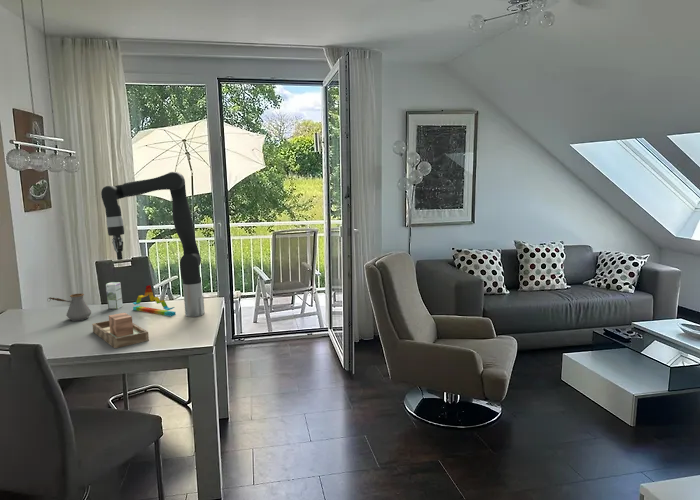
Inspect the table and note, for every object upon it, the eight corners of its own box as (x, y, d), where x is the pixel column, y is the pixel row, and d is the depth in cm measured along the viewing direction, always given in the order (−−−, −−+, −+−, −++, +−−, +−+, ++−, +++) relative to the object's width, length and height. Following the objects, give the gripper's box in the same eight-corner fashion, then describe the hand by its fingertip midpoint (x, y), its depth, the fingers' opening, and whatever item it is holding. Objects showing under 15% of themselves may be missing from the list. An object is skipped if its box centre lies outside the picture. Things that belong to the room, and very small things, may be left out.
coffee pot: (81, 314, 267) (78, 287, 264) (96, 316, 262) (93, 289, 260) (43, 326, 247) (40, 296, 245) (59, 328, 243) (55, 298, 241)
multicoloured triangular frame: (176, 315, 262) (173, 287, 260) (171, 316, 260) (169, 288, 257) (138, 308, 277) (135, 282, 275) (133, 310, 274) (130, 284, 272)
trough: (93, 331, 235) (92, 323, 235) (124, 325, 245) (123, 317, 244) (114, 348, 211) (113, 339, 210) (148, 340, 221) (148, 331, 220)
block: (110, 332, 225) (108, 315, 224) (126, 329, 230) (124, 312, 229) (117, 337, 218) (115, 319, 217) (133, 333, 222) (131, 316, 221)
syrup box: (123, 306, 282) (120, 281, 280) (117, 309, 277) (115, 284, 274) (113, 306, 283) (111, 281, 281) (107, 309, 277) (105, 284, 275)
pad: (106, 339, 224) (105, 333, 224) (133, 333, 232) (133, 327, 232) (113, 344, 216) (112, 338, 216) (141, 338, 224) (140, 332, 224)
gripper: (126, 224, 246) (131, 259, 248) (120, 224, 256) (124, 257, 258) (110, 226, 241) (115, 261, 244) (104, 226, 252) (109, 259, 254)
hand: (120, 259), depth 251 cm, fingers closed
